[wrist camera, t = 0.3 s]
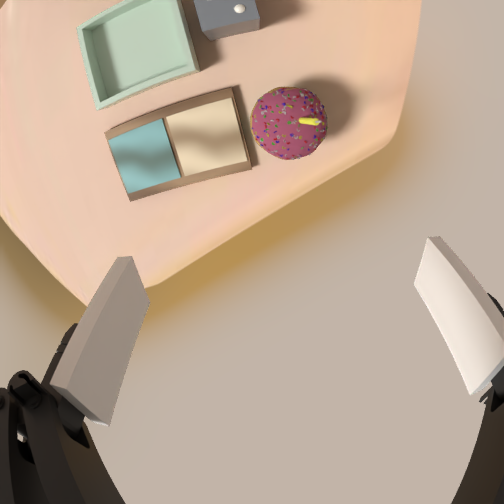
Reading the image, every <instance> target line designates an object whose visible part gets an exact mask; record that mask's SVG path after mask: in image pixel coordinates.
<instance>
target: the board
mask: <svg viewBox="0 0 504 504" xmlns="http://www.w3.org/2000/svg"><path fill="white" fill-rule="evenodd" d="M104 133H105V136H106V139H107V142H108V145H109V148H110V150H111V153H112V156H113V159H114V161H115V164H116V167H117V169H118V172H119V175H120V177H121V180H122V182H123V185H124V187H125V190H126V192H127V195H128V197H129V200H130V202H131V201H134V200H137V199H141V198H144V197H147V196H150V195H154V194H157V193H160V192H164V191H167V190H171V189H174V188H178V187H182V186H185V185H189V184H193V183H197V182H201V181H204V180H208V179H212V178H217V177H221V176H225V175H229V174H234V173H238V172H242V171H247V170H252V165H251V161H250V157H249V153H248V149H247V145H246V141H245V137H244V133H243V129H242V125H241V121H240V117H239V113H238V109H237V105H236V101H235V98H234V94H233V90H232V87H231V88H227V89H223V90H219V91H215V92H212V93H208V94H205V95H201V96H198V97H194V98H191V99H188V100H185V101H182V102H179V103H176V104H173V105H170V106H167V107H164V108H162V109H159V110H156V111H153V112H151V113H148V114H146V115H143V116H141V117H138V118H136V119H133V120H131V121H129V122H126V123H124V124H122V125H119V126H117V127H115V128H113V129H111V130H108V131H106V132H104Z"/></svg>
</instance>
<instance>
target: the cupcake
mask: <svg viewBox="0 0 504 504" xmlns="http://www.w3.org/2000/svg"><path fill="white" fill-rule="evenodd" d="M250 127H251V132H252V135H253V137H254V139H255V141H256V142H257V143H258V145H259V146H261V147H262V148H263V149H264V150H266V151H267V152H268V153H270V154H272V155H274V156H275V157H278V158H280V159H284V160H291V159H293V160H294V159H296V158H297V159H300V157H304V156H307V155H309V154H311V153H312V152H314V150H316V148H317V147H318V146H319V144H320V143H321V142H322V141H323V139H324V138H325V135H326V131H327V117H326V113H325V111H324V106H323V105H322V104H321V102H320V100H319V99H318V98H317V96H316V94H313V93H312V92H310V91H308V90H306V89H298V88H295V87H278V88H275V89H273V90H271V91H269V92H268V93H266V94H264V95H263V96H262V97H260V98H259V99H258V101H257V103H256V104H255V106H254V108H253V110H252V113H251V116H250Z"/></svg>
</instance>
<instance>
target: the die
mask: <svg viewBox="0 0 504 504" xmlns="http://www.w3.org/2000/svg"><path fill="white" fill-rule="evenodd" d="M193 1H194V4H195V8H196V11H197V15H198V18H199V22H200V26H201V29H202V32H203V33H204V34H205V35H206V36H207V37H208V38H209V40H210V41H212V40H216V39H220V38H224V37H228V36H232V35H237V34H241V33H246V32H251V31H257V30H259V25H260V16H259V13H258V10H257V6H256V3H255V0H193Z"/></svg>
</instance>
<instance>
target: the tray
mask: <svg viewBox="0 0 504 504" xmlns="http://www.w3.org/2000/svg"><path fill="white" fill-rule="evenodd" d="M77 33H78V38H79V43H80V48H81V53H82V57H83V61H84V65H85V69H86V73H87V77H88V81H89V85H90V89H91V92H92V96H93V99H94V103H95V106H96V109H97V110H101V109H105V108H109V107H111V106H113V105H115V104H117V103H119V102H121V101H124V100H126V99H128V98H130V97H132V96H135V95H137V94H139V93H142V92H144V91H147V90H149V89H152V88H154V87H157V86H159V85H162V84H165V83H167V82H170V81H173V80H176V79H179V78H182V77H185V76H188V75H191V74H194V73H198V72H201V71H200V68H199V64H198V61H197V57H196V53H195V50H194V46H193V42H192V39H191V35H190V32H189V28H188V24H187V21H186V17H185V13H184V10H183V6H182V2H181V0H124V1H122V2H120V3H118V4H116V5H114V6H112V7H110V8H108V9H107V10H105V11H103V12H101V13H99V14H98V15H96V16H94V17H93V18H91V19H89V20H88V21H86V22H84V23H83V24H81V25H80V26H78V27H77Z"/></svg>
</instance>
